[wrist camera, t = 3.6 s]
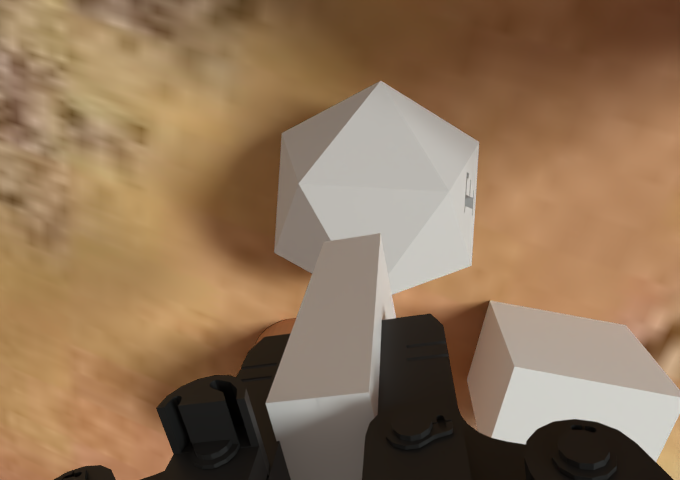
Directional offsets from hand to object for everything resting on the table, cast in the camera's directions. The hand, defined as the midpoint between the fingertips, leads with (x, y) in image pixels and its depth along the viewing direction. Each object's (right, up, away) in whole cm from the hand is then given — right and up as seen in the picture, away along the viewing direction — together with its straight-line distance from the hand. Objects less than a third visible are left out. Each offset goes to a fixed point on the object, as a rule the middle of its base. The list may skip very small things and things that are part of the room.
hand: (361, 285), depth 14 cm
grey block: (+10, -5, +14) cm, 18 cm away
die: (+1, +4, +11) cm, 12 cm away
